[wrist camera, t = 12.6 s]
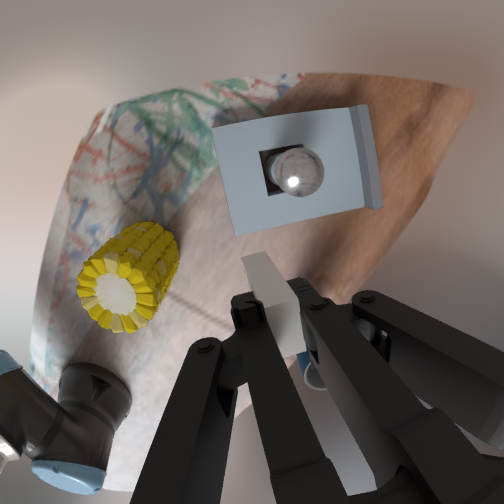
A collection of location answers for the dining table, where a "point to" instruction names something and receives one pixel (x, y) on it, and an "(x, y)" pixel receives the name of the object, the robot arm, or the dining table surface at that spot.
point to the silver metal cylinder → (295, 171)
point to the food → (129, 277)
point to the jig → (304, 136)
